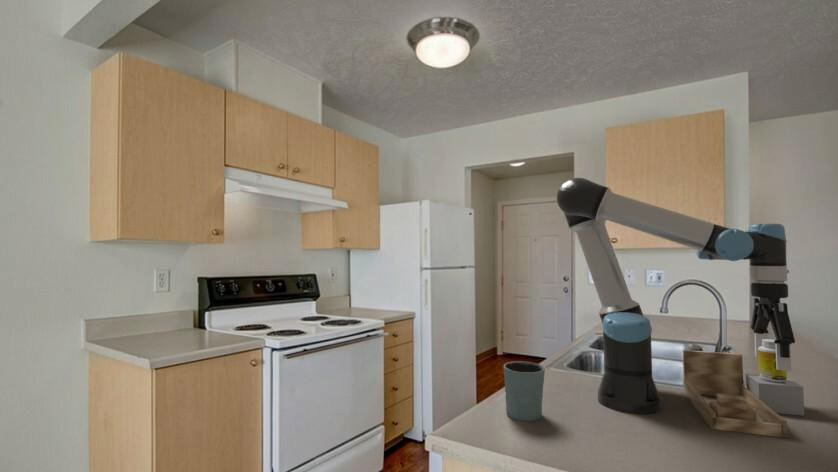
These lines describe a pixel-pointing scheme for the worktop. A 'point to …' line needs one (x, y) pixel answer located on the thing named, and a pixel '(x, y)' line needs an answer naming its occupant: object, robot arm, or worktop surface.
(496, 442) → the worktop surface
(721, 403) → the offcut block
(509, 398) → the grey-green cup
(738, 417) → the offcut slab top
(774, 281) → the robot arm
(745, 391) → the light wood open box
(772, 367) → the supplement bottle
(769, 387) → the stone plinth
